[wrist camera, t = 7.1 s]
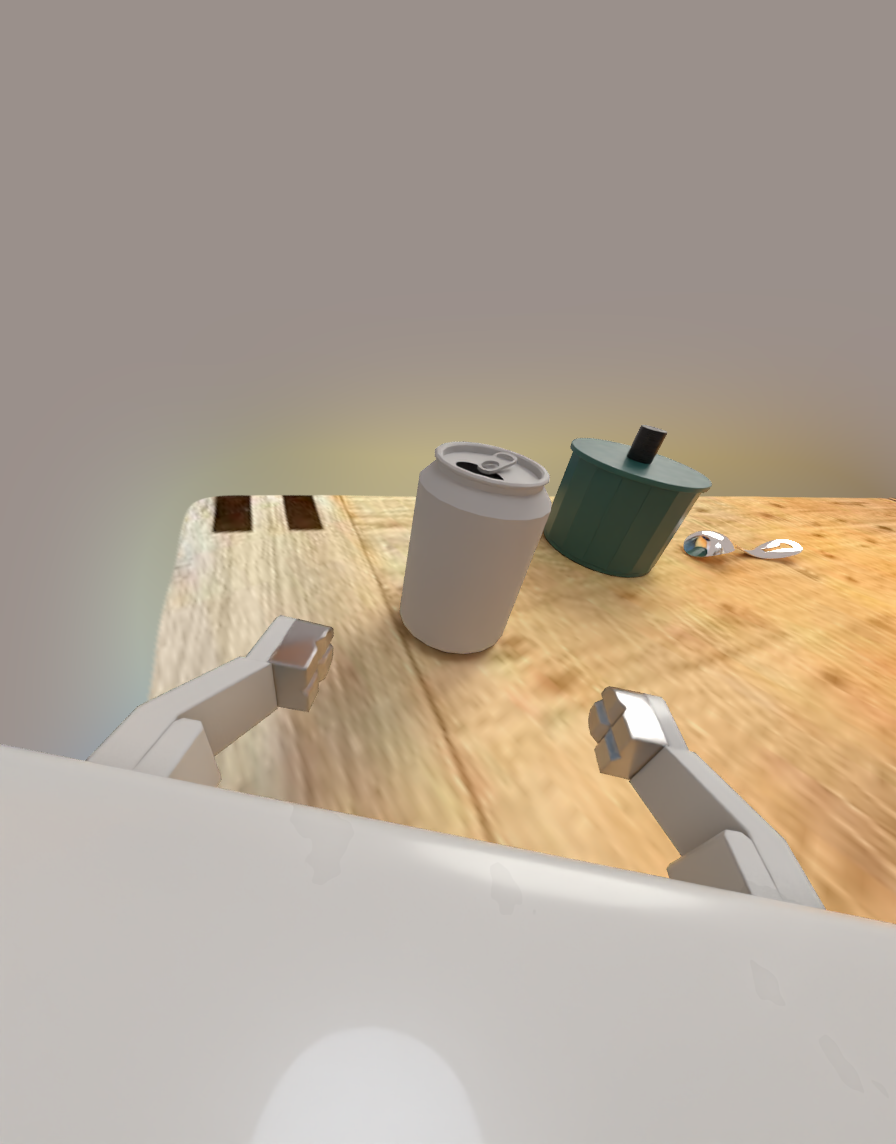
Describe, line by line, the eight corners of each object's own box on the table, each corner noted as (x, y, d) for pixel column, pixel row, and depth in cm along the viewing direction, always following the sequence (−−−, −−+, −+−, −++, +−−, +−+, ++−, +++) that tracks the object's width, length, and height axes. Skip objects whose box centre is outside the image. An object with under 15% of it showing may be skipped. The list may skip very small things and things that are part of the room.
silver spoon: (790, 522, 49) (826, 539, 46) (773, 543, 52) (806, 561, 48) (684, 525, 43) (716, 545, 40) (669, 549, 46) (699, 571, 42)
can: (376, 612, 25) (393, 438, 18) (448, 578, 30) (482, 431, 23) (453, 683, 21) (511, 498, 14) (520, 630, 26) (587, 474, 19)
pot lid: (631, 452, 43) (648, 417, 41) (735, 501, 33) (765, 458, 31) (543, 443, 38) (557, 402, 35) (635, 498, 28) (663, 446, 26)
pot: (599, 519, 47) (634, 448, 42) (675, 573, 38) (731, 493, 33) (523, 519, 42) (551, 439, 37) (589, 581, 34) (639, 488, 28)
